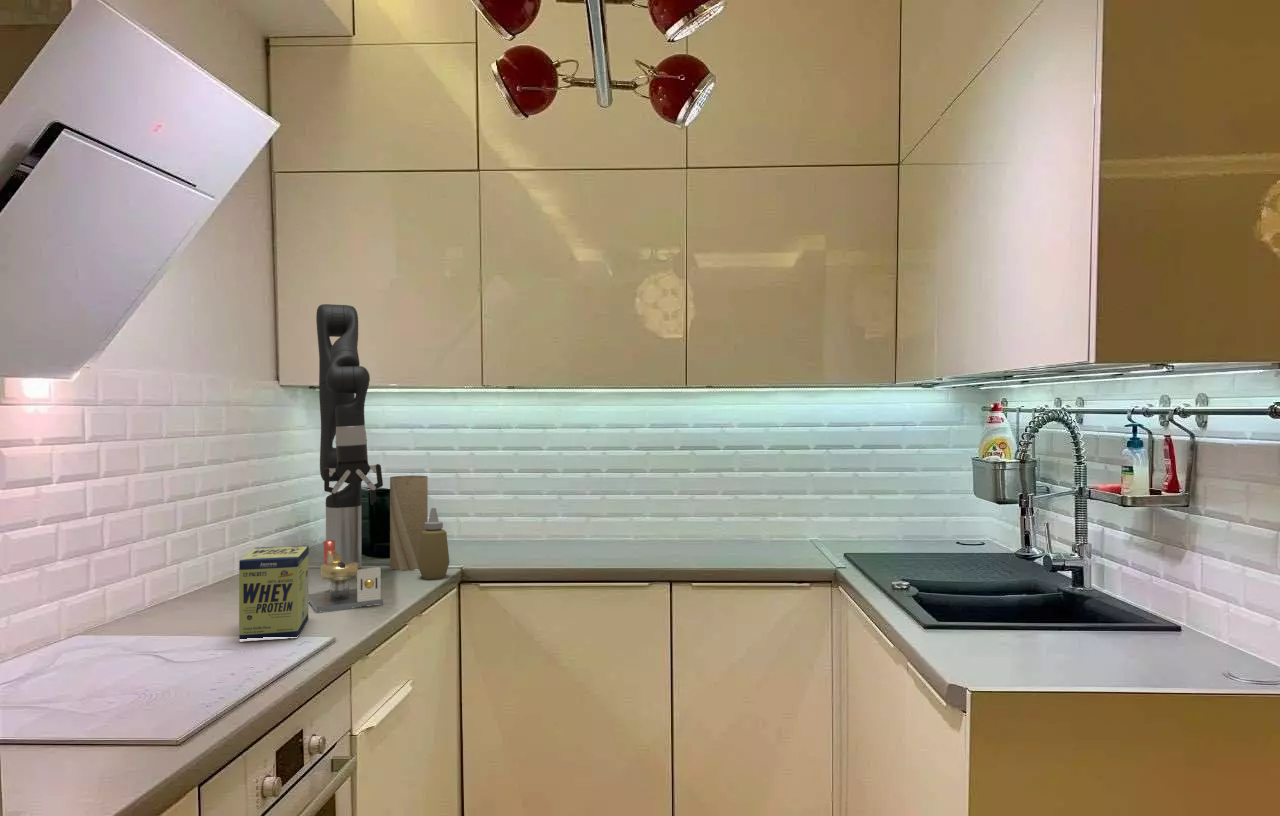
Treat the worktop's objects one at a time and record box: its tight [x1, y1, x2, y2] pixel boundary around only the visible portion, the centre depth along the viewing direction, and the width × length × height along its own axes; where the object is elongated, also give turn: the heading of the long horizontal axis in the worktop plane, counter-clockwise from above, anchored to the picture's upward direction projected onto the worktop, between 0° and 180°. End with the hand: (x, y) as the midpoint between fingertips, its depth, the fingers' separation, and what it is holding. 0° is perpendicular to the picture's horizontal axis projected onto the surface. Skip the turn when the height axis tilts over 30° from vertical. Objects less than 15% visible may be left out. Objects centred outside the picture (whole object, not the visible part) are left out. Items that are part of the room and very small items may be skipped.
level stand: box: [308, 566, 384, 613], centre depth 180 cm, size 15×14×8 cm
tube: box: [389, 475, 429, 571], centre depth 220 cm, size 10×10×25 cm
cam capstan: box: [320, 540, 358, 581], centre depth 184 cm, size 19×8×6 cm, turn 31°
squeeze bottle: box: [418, 507, 450, 580], centre depth 207 cm, size 8×8×18 cm
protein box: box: [238, 545, 310, 639], centre depth 158 cm, size 10×16×16 cm
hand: (354, 506), depth 205 cm, fingers open, 8 cm apart
